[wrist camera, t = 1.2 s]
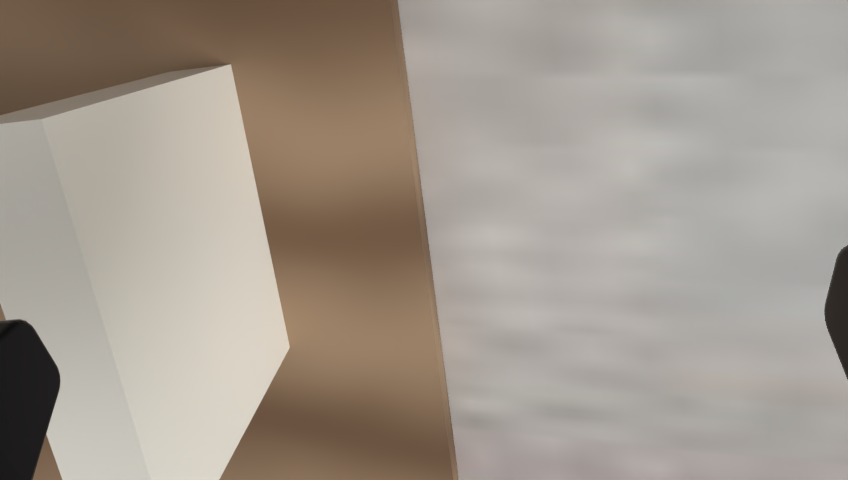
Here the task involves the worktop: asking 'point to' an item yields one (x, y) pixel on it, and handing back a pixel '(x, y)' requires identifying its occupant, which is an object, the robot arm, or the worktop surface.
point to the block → (142, 273)
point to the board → (293, 209)
